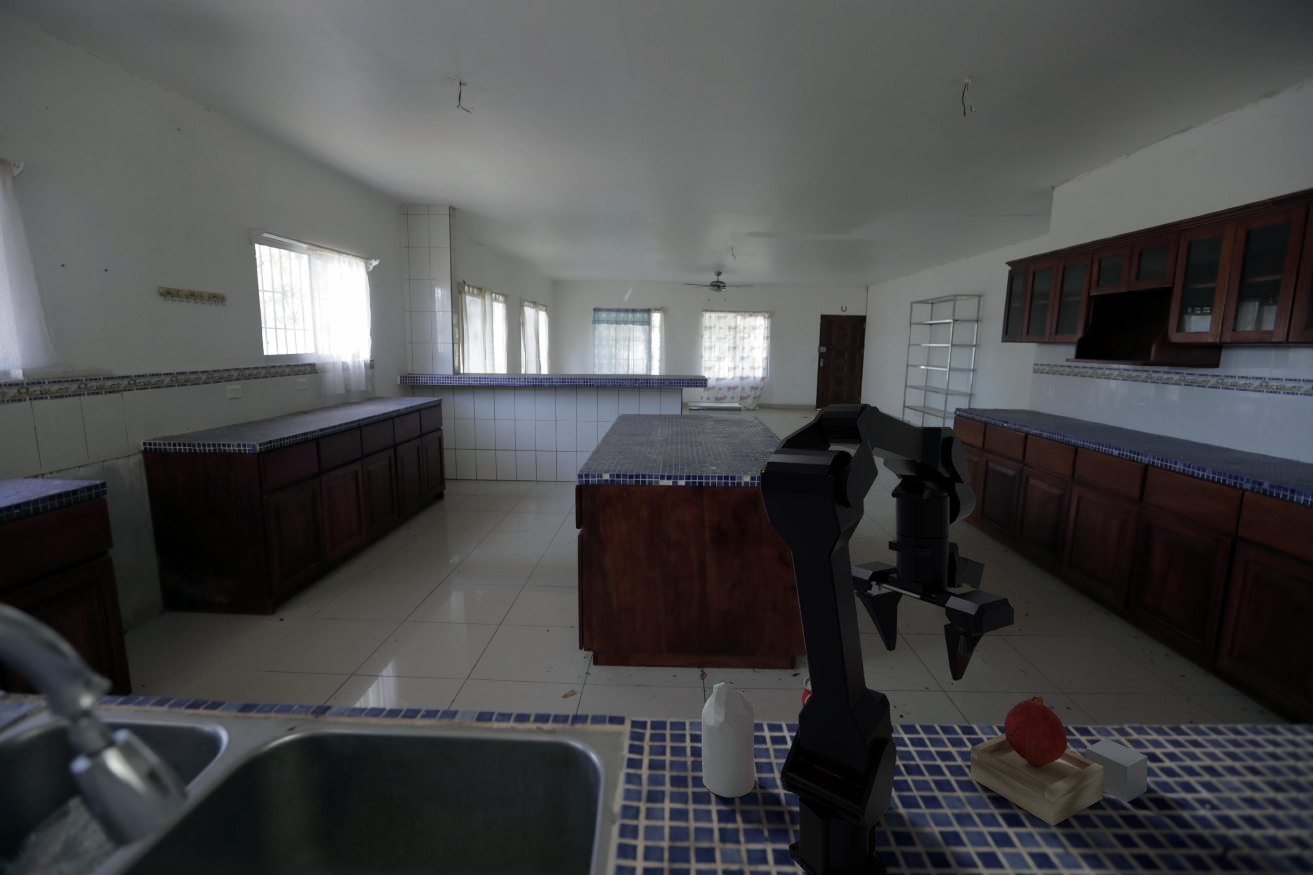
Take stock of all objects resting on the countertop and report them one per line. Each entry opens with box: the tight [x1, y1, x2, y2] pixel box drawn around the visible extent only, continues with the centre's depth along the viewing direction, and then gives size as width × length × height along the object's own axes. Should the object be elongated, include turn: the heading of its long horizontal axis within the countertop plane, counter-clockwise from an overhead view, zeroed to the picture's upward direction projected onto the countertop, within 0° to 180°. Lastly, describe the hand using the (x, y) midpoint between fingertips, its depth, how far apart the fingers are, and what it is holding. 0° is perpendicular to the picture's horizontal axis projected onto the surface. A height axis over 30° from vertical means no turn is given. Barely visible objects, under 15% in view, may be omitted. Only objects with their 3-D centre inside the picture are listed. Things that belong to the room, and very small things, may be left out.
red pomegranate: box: [1003, 694, 1068, 767], centre depth 65 cm, size 6×6×8 cm
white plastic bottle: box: [701, 682, 755, 798], centre depth 67 cm, size 6×12×6 cm
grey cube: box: [1085, 738, 1148, 804], centre depth 66 cm, size 4×4×4 cm
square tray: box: [970, 733, 1104, 827], centre depth 66 cm, size 9×9×4 cm
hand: (922, 664), depth 70 cm, fingers open, 9 cm apart
